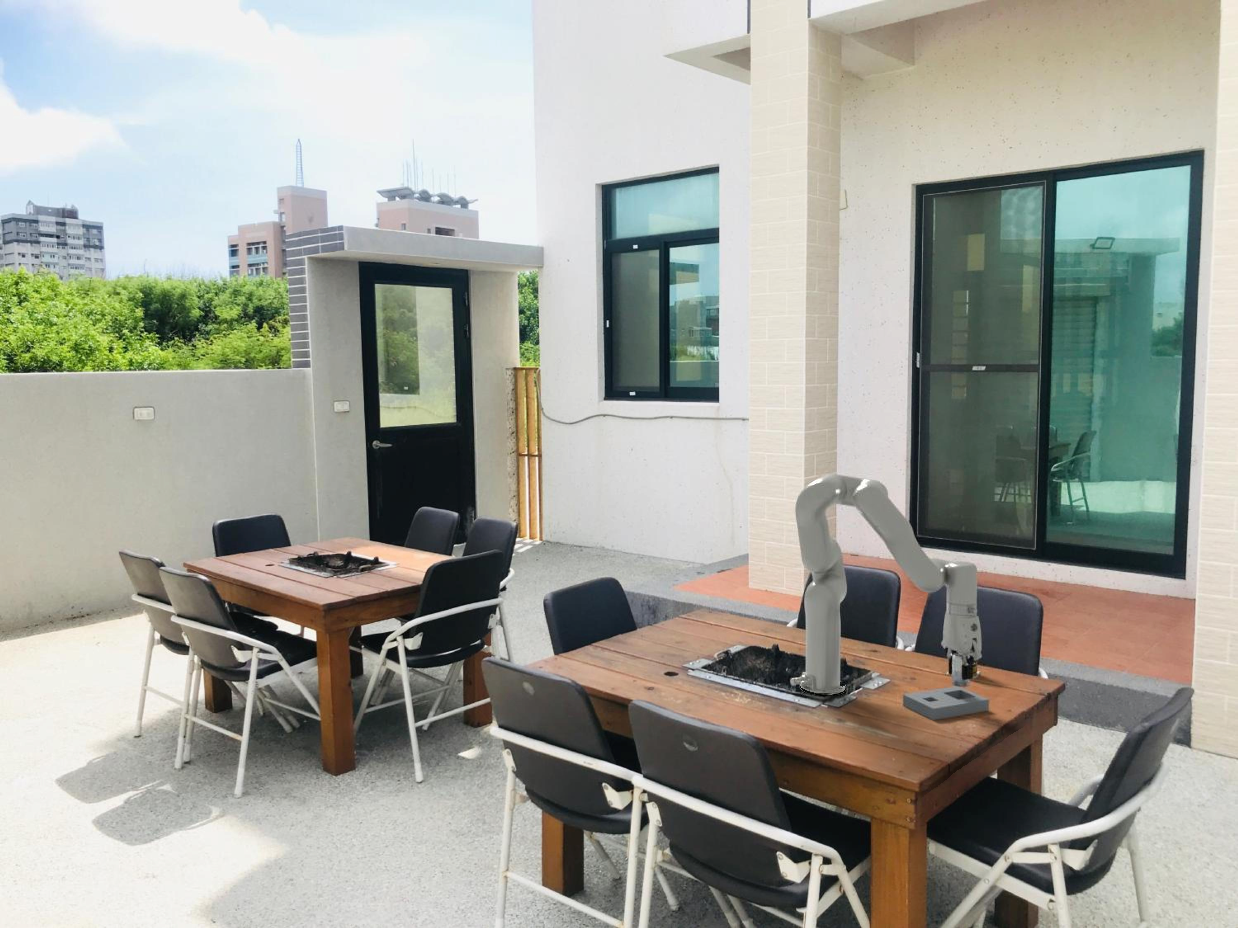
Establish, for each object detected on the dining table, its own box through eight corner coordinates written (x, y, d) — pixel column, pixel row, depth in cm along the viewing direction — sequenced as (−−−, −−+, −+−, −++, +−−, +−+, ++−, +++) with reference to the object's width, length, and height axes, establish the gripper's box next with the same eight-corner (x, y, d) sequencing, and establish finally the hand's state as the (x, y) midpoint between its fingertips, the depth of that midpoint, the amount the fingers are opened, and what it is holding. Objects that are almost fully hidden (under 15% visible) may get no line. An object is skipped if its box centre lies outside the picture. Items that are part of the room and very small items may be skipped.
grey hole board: (933, 719, 248) (933, 708, 247) (903, 705, 259) (903, 694, 258) (988, 710, 254) (989, 699, 254) (957, 696, 265) (957, 685, 265)
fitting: (959, 687, 255) (960, 657, 254) (948, 682, 259) (948, 653, 258) (973, 685, 256) (973, 655, 255) (961, 680, 260) (961, 651, 260)
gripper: (995, 614, 249) (994, 683, 251) (951, 600, 265) (950, 666, 266) (972, 617, 246) (971, 687, 248) (928, 603, 262) (928, 669, 264)
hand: (960, 675), depth 257 cm, fingers closed on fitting, 4 cm apart
